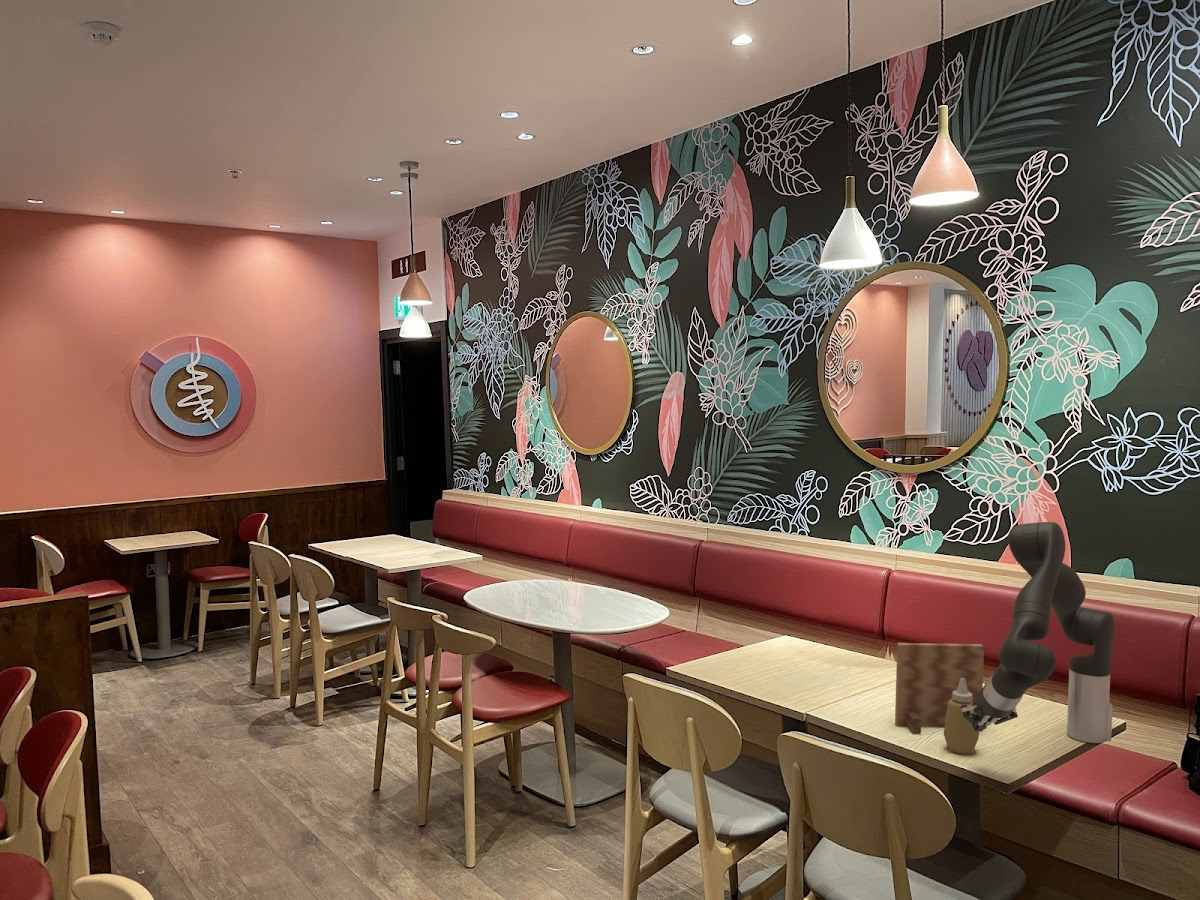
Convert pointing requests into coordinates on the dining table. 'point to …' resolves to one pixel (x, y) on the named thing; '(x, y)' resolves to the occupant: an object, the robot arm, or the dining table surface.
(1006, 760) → the dining table surface
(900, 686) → the walnut wall board
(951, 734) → the squeeze bottle
